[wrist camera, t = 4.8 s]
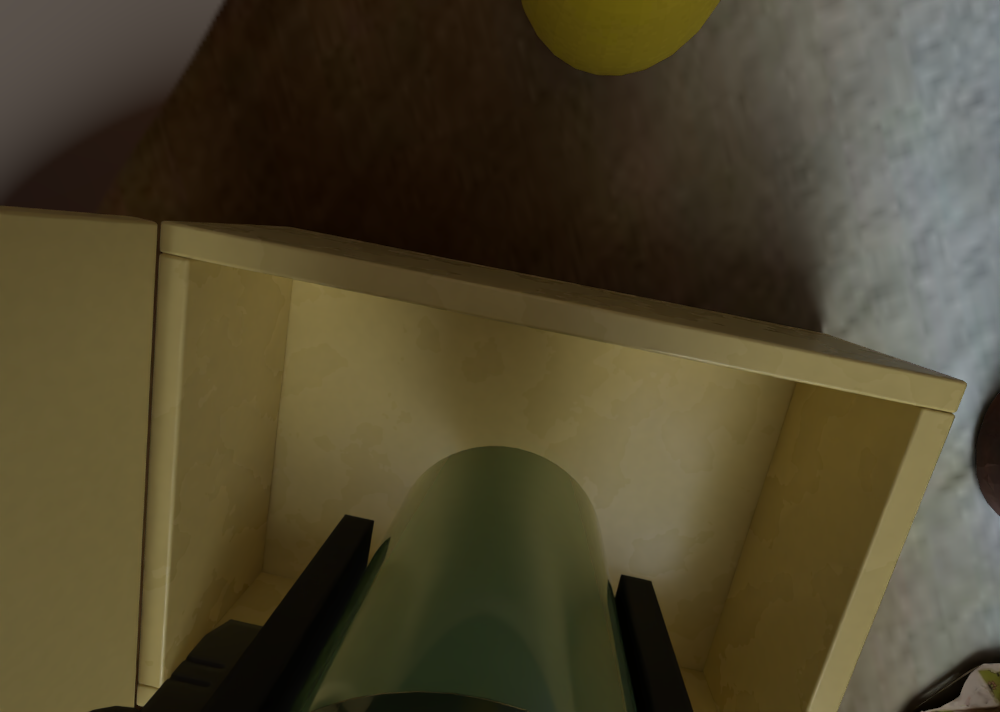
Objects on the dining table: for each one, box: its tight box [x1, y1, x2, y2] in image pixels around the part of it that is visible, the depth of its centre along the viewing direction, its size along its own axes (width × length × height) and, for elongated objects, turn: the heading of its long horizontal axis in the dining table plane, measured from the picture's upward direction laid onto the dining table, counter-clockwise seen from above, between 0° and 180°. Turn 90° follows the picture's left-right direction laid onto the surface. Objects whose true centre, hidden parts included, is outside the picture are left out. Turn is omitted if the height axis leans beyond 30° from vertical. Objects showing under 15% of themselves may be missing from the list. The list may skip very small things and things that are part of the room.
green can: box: [288, 446, 638, 712], centre depth 11 cm, size 7×7×10 cm
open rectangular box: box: [137, 221, 967, 712], centre depth 18 cm, size 20×15×7 cm
